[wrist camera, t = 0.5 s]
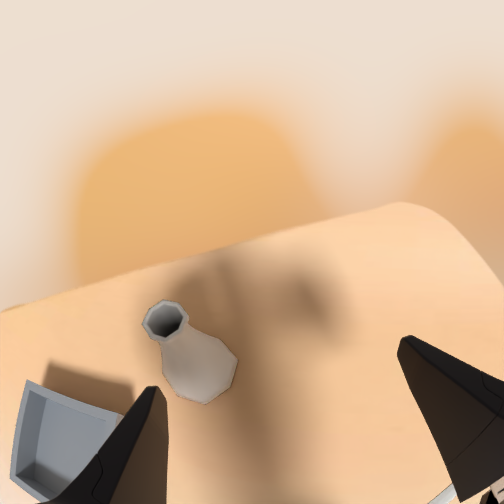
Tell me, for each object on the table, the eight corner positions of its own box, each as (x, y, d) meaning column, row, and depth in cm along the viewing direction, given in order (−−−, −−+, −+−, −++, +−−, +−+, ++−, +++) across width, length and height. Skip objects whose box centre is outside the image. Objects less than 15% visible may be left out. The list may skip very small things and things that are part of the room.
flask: (208, 417, 21) (170, 391, 14) (152, 376, 24) (100, 330, 17) (251, 358, 25) (238, 303, 18) (194, 324, 28) (162, 263, 21)
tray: (126, 531, 12) (104, 537, 9) (33, 483, 13) (9, 478, 11) (138, 421, 21) (117, 412, 18) (48, 391, 22) (26, 379, 19)
